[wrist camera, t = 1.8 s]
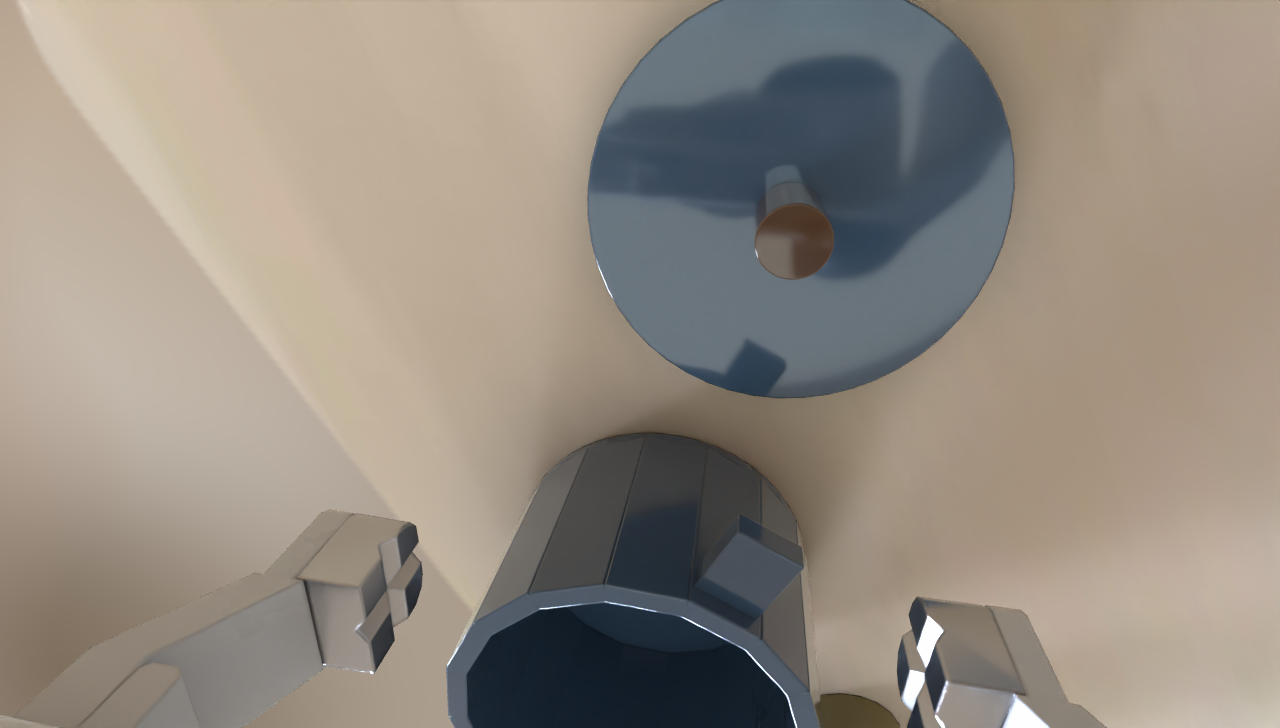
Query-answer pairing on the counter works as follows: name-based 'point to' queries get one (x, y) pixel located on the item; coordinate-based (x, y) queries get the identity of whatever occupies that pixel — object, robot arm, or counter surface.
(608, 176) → the lid
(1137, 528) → the counter surface
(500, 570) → the pot
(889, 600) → the counter surface
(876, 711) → the cork
